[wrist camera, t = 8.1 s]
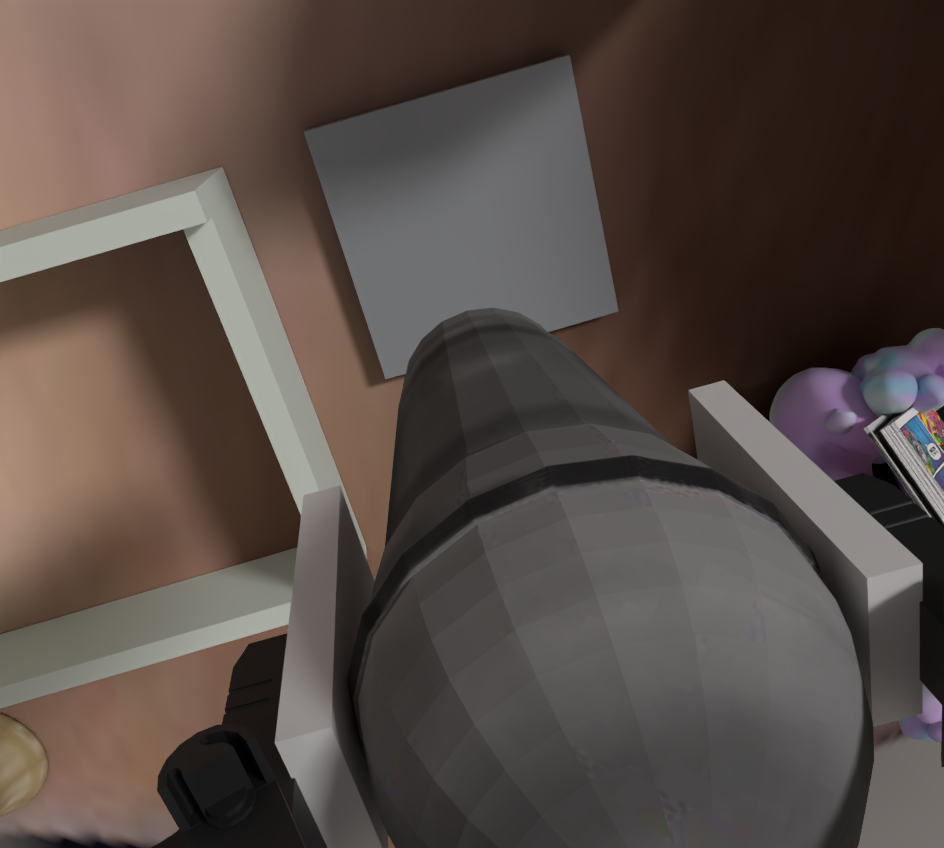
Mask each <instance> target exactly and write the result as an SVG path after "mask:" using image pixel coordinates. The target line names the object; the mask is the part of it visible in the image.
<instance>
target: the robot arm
mask: <svg viewBox="0 0 944 848" xmlns="http://www.w3.org/2000/svg"><path fill="white" fill-rule="evenodd" d="M688 393H689V400H690V408H691V415H692V423H693V430H694V437H695V445H696V452H697V459H698V460H699V461H701V462H702V463H704V464H705V465H707V466H709V467H710V468H712V469H714V470H715V471H717V472H719V473H721V474H723V475H724V476H726V477H728V478H730V479H732V480H734V481H735V482H737V483H739V484H741V485H743V486H744V487H746V488H748V489H750V490H752V491H754V492H755V493H757V494H759V495H761V496H763V497H764V498H766V499H768V500H770V501H772V502H773V503H774V504H775V505H776V506H777V507H778V509H779V510H780V511H781V512H782V514H783V515H784V516H785V517H786V519H787V520H788V521H789V522H790V524H791V525H792V526H793V527H794V529H795V530H796V531H797V532H798V533H799V535H800V536H801V537H802V538H803V540H804V541H805V542H806V543H807V545H808V546H809V547H810V548H811V550H812V551H813V552H814V555H815V557H816V560H817V562H818V565H819V567H820V570H821V573H822V577H823V581H824V584H825V585H826V587H827V588H828V590H829V591H830V592H831V594H832V595H833V597H834V598H835V599H836V601H837V603H838V606H839V608H840V610H841V612H842V615H843V617H844V619H845V621H846V623H847V626H848V628H849V630H850V632H851V636H852V640H853V644H854V648H855V651H856V655H857V659H858V663H859V667H860V671H861V675H862V679H863V683H864V686H865V691H866V695H867V699H868V703H869V708H870V712H871V716H872V721H873V727H875V726H879V725H882V724H886V723H890V722H893V721H897V720H900V719H904V718H908V717H911V716H915V715H918V714H922V713H923V684H924V685H925V686H926V687H927V689H928V690H929V691H930V692H931V693H932V694H933V695H934V697H935V698H936V699H937V700H938V701H939V702H940V703H941V705H942V742H941V747H942V748H941V760H942V761H941V762H942V767H944V527H943V526H942V525H941V524H940V523H939V522H937V521H936V520H935V519H934V518H932V517H930V518H929V516H928V513H926V512H925V511H924V510H923V509H922V508H920V507H919V506H918V505H917V504H916V503H915V504H913V503H912V500H911V499H910V498H908V497H907V496H906V495H905V494H903V493H902V492H901V491H900V490H899V489H897V488H896V487H895V486H894V485H893V484H891V483H888V482H886V481H883V480H880V479H878V478H875V477H873V476H870V475H868V474H865V473H860V474H857V475H853V476H850V477H846V478H842V479H839V480H835V481H833V480H832V479H831V478H830V477H829V476H827V475H826V474H825V473H824V472H823V471H822V470H821V469H820V468H819V467H818V466H817V465H816V464H814V463H813V462H812V461H811V460H810V459H809V458H808V457H807V456H806V455H805V454H804V453H803V452H801V451H800V450H799V449H798V448H797V447H796V446H795V445H794V444H793V443H792V442H791V441H789V440H788V439H787V438H786V437H785V436H784V435H783V434H782V433H781V432H780V431H779V430H778V429H776V428H775V427H774V426H773V425H772V424H771V423H770V422H769V421H768V420H767V419H766V418H765V417H763V416H762V415H761V414H760V413H759V412H758V411H757V410H756V409H755V408H754V407H753V406H752V405H750V404H749V403H748V402H747V401H746V400H745V399H744V398H743V397H742V396H741V395H740V394H738V393H737V392H736V391H735V390H734V389H733V388H732V387H731V386H730V385H729V384H728V383H727V382H725V381H724V380H723V381H720V382H716V383H712V384H709V385H705V386H701V387H698V388H694V389H690V390H688ZM374 583H375V582H374V579H373V576H372V573H371V571H370V568H369V565H368V562H367V559H366V557H365V554H364V551H363V548H362V545H361V543H360V540H359V537H358V534H357V531H356V529H355V526H354V523H353V520H352V517H351V515H350V512H349V509H348V506H347V503H346V501H345V498H344V495H343V492H342V489H341V487H340V485H339V486H335V487H332V488H328V489H324V490H321V491H317V492H313V493H310V494H306V495H304V496H303V504H302V513H301V521H300V530H299V539H298V547H297V556H296V564H295V573H294V581H293V590H292V598H291V607H290V616H289V624H288V633H287V634H283V635H280V636H276V637H272V638H269V639H265V640H262V641H258V642H254V643H251V644H249V645H248V646H247V648H246V649H245V651H244V652H243V654H242V655H241V657H240V658H239V660H238V661H237V663H236V664H235V666H234V667H233V671H232V677H231V682H230V687H229V695H228V697H227V702H226V707H225V712H226V714H225V715H224V717H223V722H222V725H215V726H213V727H210V728H208V729H205V730H203V731H200V732H198V733H196V734H195V735H193V736H192V737H190V738H189V739H188V740H186V741H185V742H183V743H182V744H180V745H179V746H178V747H177V749H176V750H175V751H174V752H173V753H172V754H171V755H170V756H169V757H168V758H167V759H166V761H165V763H164V765H163V767H162V769H161V771H160V773H159V775H158V787H157V791H158V793H159V795H160V796H161V798H162V800H163V801H164V803H165V805H166V807H167V808H168V810H169V812H170V814H171V815H172V817H173V819H174V820H175V822H176V824H177V826H178V827H179V830H178V831H177V832H176V833H174V834H173V835H171V836H170V837H168V838H167V839H165V840H164V841H162V842H160V843H159V844H157V845H155V846H153V847H152V848H388V833H387V831H386V829H385V827H384V825H383V823H382V821H381V818H380V814H379V811H378V808H377V805H376V801H375V798H374V795H373V792H372V788H371V782H370V776H369V771H368V765H367V762H366V760H365V759H364V757H363V754H362V750H361V746H360V742H359V738H358V734H357V730H356V726H355V722H354V718H353V712H352V707H351V701H350V696H349V690H348V685H347V676H348V672H349V667H350V663H351V658H352V654H353V650H354V645H355V641H356V636H357V632H358V628H359V623H360V619H361V615H362V613H363V612H364V610H365V609H366V607H367V606H368V604H369V603H370V600H371V595H372V591H373V587H374Z"/></svg>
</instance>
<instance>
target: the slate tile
mask: <svg viewBox="0 0 944 848" xmlns="http://www.w3.org/2000/svg"><path fill="white" fill-rule="evenodd" d="M304 135H305V138H306V141H307V144H308V147H309V150H310V153H311V156H312V159H313V162H314V165H315V168H316V171H317V174H318V177H319V180H320V183H321V186H322V189H323V192H324V195H325V198H326V201H327V204H328V207H329V210H330V213H331V216H332V219H333V222H334V225H335V228H336V231H337V234H338V237H339V240H340V243H341V246H342V249H343V252H344V255H345V258H346V261H347V265H348V268H349V271H350V274H351V277H352V280H353V283H354V286H355V289H356V292H357V295H358V298H359V301H360V304H361V307H362V310H363V313H364V316H365V319H366V322H367V325H368V328H369V331H370V334H371V337H372V340H373V343H374V346H375V349H376V352H377V355H378V358H379V361H380V364H381V367H382V370H383V373H384V376H385V379H389V378H393V377H396V376H399V375H403V374H406V371H407V366H408V362H409V359H410V358H411V356H412V355H413V353H414V351H415V350H416V348H417V346H418V345H419V343H420V341H421V340H422V338H424V337H425V336H426V335H427V334H428V333H429V332H430V331H432V330H433V329H434V328H435V327H436V326H437V325H438V324H440V323H441V322H442V321H444V320H446V319H449V318H451V317H453V316H455V315H458V314H460V313H462V312H465V311H467V310H476V309H485V308H498V309H503V310H508V311H513V312H518V313H521V314H522V315H524V316H526V317H528V318H529V319H531V320H533V321H535V322H536V323H538V324H540V325H541V326H542V327H543V328H544V329H545V330H546V331H547V332H550V331H554V330H557V329H560V328H564V327H567V326H571V325H574V324H578V323H581V322H584V321H588V320H591V319H595V318H598V317H602V316H605V315H608V314H612V313H615V312H619V311H618V305H617V300H616V295H615V290H614V284H613V279H612V274H611V269H610V263H609V258H608V253H607V248H606V242H605V237H604V232H603V227H602V221H601V216H600V211H599V206H598V200H597V195H596V190H595V185H594V179H593V174H592V169H591V164H590V158H589V153H588V148H587V143H586V137H585V132H584V127H583V122H582V116H581V111H580V106H579V101H578V95H577V90H576V85H575V80H574V74H573V69H572V64H571V59H570V55H562V56H558V57H555V58H552V59H548V60H545V61H541V62H538V63H534V64H531V65H527V66H524V67H520V68H517V69H514V70H510V71H507V72H503V73H500V74H496V75H493V76H489V77H486V78H483V79H479V80H476V81H472V82H469V83H465V84H462V85H458V86H455V87H451V88H448V89H445V90H441V91H438V92H434V93H431V94H427V95H424V96H420V97H417V98H413V99H410V100H407V101H403V102H400V103H396V104H393V105H389V106H386V107H382V108H379V109H376V110H372V111H369V112H365V113H362V114H358V115H355V116H351V117H348V118H344V119H341V120H338V121H334V122H331V123H327V124H324V125H320V126H317V127H313V128H310V129H306V130H305V131H304Z"/></svg>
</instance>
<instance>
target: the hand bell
mask: <svg viewBox="0 0 944 848" xmlns="http://www.w3.org/2000/svg"><path fill="white" fill-rule="evenodd" d="M47 772H48V760H47V755H46V753H45V750H44V748H43V746H42V744H41V742H40V741H39V740H38V738H37V737H36V735H35V734H34V733H33V732H32V731H31V730H29V729H28V728H27V727H26V726H24V725H23V724H21V723H20V722H18V721H16V720H14V719H13V718H10V717H8V716H6V715H4V714H1V713H0V816H2V815H5V814H8V813H10V812H13V811H15V810H16V809H18V808H20V807H22V806H23V805H24V804H26V803H27V802H29V801H30V800H31V799H32V798H33V797H34V796H35V795H36V794H37V793H38V792H39V791H40V789H41V788H42V786H43V784H44V782H45V780H46V777H47Z"/></svg>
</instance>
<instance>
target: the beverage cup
mask: <svg viewBox="0 0 944 848" xmlns="http://www.w3.org/2000/svg"><path fill="white" fill-rule="evenodd" d="M347 685H348V690H349V696H350V701H351V707H352V712H353V718H354V722H355V726H356V730H357V734H358V738H359V742H360V746H361V750H362V754H363V757H364V759H365V760H366V762H367V765H368V771H369V776H370V782H371V788H372V792H373V795H374V798H375V801H376V805H377V808H378V811H379V814H380V818H381V821H382V823H383V825H384V827H385V829H386V831H387V833H388V835H389V837H390V838H391V840H392V842H393V844H394V846H395V848H857V846H858V844H859V839H860V834H861V829H862V824H863V819H864V814H865V808H866V803H867V797H868V791H869V786H870V780H871V774H872V768H873V762H874V742H873V721H872V716H871V712H870V708H869V703H868V699H867V695H866V691H865V686H864V683H863V679H862V675H861V671H860V667H859V663H858V659H857V655H856V651H855V648H854V644H853V640H852V636H851V632H850V630H849V628H848V626H847V623H846V621H845V619H844V617H843V615H842V612H841V610H840V608H839V606H838V603H837V601H836V599H835V598H834V597H833V595H832V594H831V592H830V591H829V590H828V588H827V587H826V585H825V584H824V581H823V577H822V573H821V570H820V567H819V565H818V562H817V560H816V557H815V555H814V552H813V551H812V550H811V548H810V547H809V546H808V545H807V543H806V542H805V541H804V540H803V538H802V537H801V536H800V535H799V533H798V532H797V531H796V530H795V529H794V527H793V526H792V525H791V524H790V522H789V521H788V520H787V519H786V517H785V516H784V515H783V514H782V512H781V511H780V510H779V509H778V507H777V506H776V505H775V504H774V503H773V502H772V501H770V500H768V499H766V498H764V497H763V496H761V495H759V494H757V493H755V492H754V491H752V490H750V489H748V488H746V487H744V486H743V485H741V484H739V483H737V482H735V481H734V480H732V479H730V478H728V477H726V476H724V475H723V474H721V473H719V472H717V471H715V470H714V469H712V468H710V467H709V466H707V465H705V464H704V463H702V462H701V461H699V460H697V459H695V458H693V457H692V456H690V455H688V454H686V453H684V452H683V451H681V450H679V449H677V448H675V447H674V446H673V445H672V444H671V443H670V442H669V441H668V440H667V439H665V438H664V437H663V436H662V435H661V434H660V433H659V432H658V431H657V430H656V429H655V428H654V427H653V426H652V425H651V424H650V423H648V422H647V421H646V420H645V419H644V418H643V417H642V416H641V415H640V414H639V413H638V412H637V411H636V410H635V409H634V408H632V407H631V406H630V405H629V404H628V403H627V402H626V401H625V400H624V399H623V398H622V397H621V396H620V395H619V394H618V393H617V392H615V391H614V390H613V389H612V388H611V387H610V386H609V385H608V384H607V383H606V382H605V381H604V380H603V379H602V378H601V377H600V376H598V375H597V374H596V373H595V372H594V371H593V370H592V369H591V368H590V367H589V366H588V365H587V364H586V363H585V362H584V361H583V360H581V359H580V358H579V357H578V356H577V355H576V354H575V353H574V352H573V351H572V350H571V349H570V348H569V347H568V346H567V345H566V344H564V343H563V342H562V341H561V340H560V339H559V338H557V337H556V336H554V335H552V334H550V333H549V332H547V331H546V330H545V329H544V328H543V327H542V326H541V325H540V324H538V323H536V322H535V321H533V320H531V319H529V318H528V317H526V316H524V315H522V314H521V313H518V312H513V311H508V310H503V309H498V308H485V309H476V310H467V311H465V312H462V313H460V314H458V315H455V316H453V317H451V318H449V319H446V320H444V321H442V322H441V323H440V324H438V325H437V326H436V327H435V328H434V329H433V330H432V331H430V332H429V333H428V334H427V335H426V336H425V337H424V338H422V340H421V341H420V343H419V345H418V346H417V348H416V350H415V351H414V353H413V355H412V356H411V358H410V359H409V362H408V366H407V371H406V375H405V380H404V384H403V390H402V394H401V399H400V403H399V408H398V418H397V428H396V439H395V449H394V460H393V470H392V481H391V491H390V502H389V512H388V523H387V533H386V543H385V549H384V552H383V556H382V559H381V563H380V566H379V569H378V573H377V576H376V579H375V583H374V587H373V591H372V595H371V600H370V603H369V604H368V606H367V607H366V609H365V610H364V612H363V613H362V615H361V619H360V623H359V628H358V632H357V636H356V641H355V645H354V650H353V654H352V658H351V663H350V667H349V672H348V676H347Z"/></svg>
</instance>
